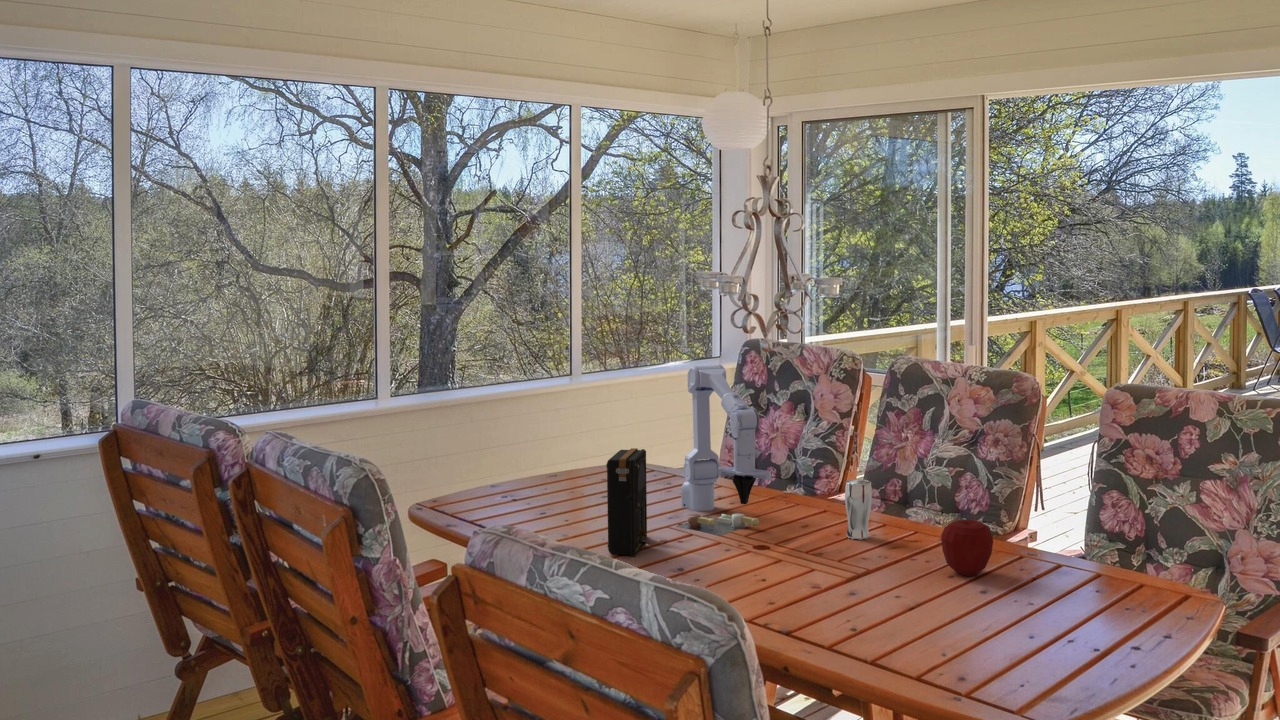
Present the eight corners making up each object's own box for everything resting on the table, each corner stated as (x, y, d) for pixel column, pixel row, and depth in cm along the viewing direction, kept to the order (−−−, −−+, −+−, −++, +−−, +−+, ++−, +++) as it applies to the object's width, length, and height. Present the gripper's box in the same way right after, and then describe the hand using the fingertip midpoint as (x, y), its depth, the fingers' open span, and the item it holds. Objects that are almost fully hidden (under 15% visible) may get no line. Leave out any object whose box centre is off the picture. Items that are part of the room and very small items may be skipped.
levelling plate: (676, 530, 281) (676, 526, 281) (706, 520, 292) (706, 516, 292) (720, 540, 271) (720, 535, 271) (750, 529, 282) (750, 524, 282)
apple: (952, 562, 249) (953, 509, 248) (999, 571, 242) (1001, 516, 241) (932, 574, 240) (933, 519, 239) (980, 584, 233) (982, 527, 231)
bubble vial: (717, 521, 285) (717, 514, 285) (722, 520, 287) (722, 512, 287) (729, 524, 283) (729, 516, 283) (734, 522, 285) (734, 514, 284)
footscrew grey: (728, 525, 281) (728, 514, 281) (737, 523, 283) (737, 511, 283) (754, 531, 275) (754, 519, 274) (762, 529, 277) (762, 517, 277)
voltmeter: (639, 557, 256) (637, 459, 254) (605, 556, 258) (604, 458, 255) (650, 540, 271) (649, 448, 269) (619, 539, 273) (617, 447, 271)
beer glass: (841, 538, 271) (841, 483, 270) (848, 532, 277) (849, 478, 276) (867, 542, 268) (867, 485, 267) (874, 535, 274) (874, 480, 273)
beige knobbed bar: (685, 526, 280) (685, 515, 280) (693, 524, 283) (693, 512, 283) (711, 532, 275) (711, 520, 274) (719, 529, 277) (719, 517, 277)
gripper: (713, 454, 274) (713, 504, 275) (765, 458, 267) (765, 509, 269) (723, 449, 280) (723, 498, 281) (773, 453, 274) (773, 503, 275)
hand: (744, 503), depth 275 cm, fingers closed
